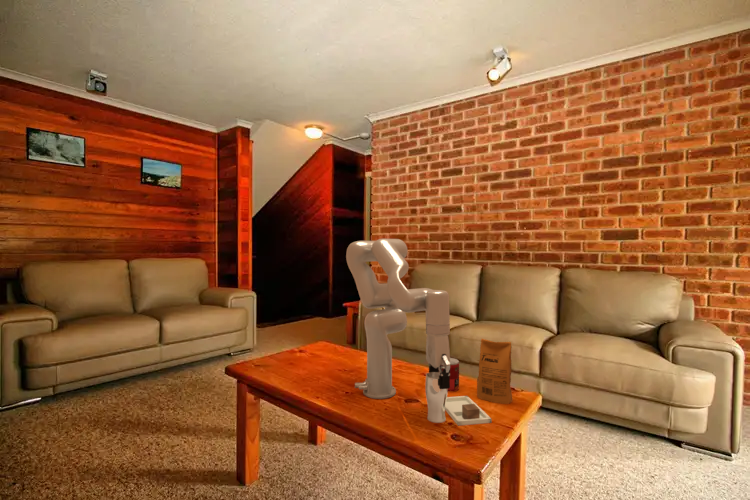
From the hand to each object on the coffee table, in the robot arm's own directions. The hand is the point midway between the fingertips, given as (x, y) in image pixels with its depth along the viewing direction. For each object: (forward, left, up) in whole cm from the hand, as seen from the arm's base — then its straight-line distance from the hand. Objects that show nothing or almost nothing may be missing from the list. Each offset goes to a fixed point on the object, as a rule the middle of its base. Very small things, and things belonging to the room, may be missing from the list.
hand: (439, 383), depth 115 cm
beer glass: (-1, 0, -13) cm, 13 cm away
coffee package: (+26, +13, -13) cm, 31 cm away
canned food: (+14, +27, -13) cm, 33 cm away
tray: (+10, +4, -13) cm, 16 cm away
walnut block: (+10, -2, -11) cm, 15 cm away
